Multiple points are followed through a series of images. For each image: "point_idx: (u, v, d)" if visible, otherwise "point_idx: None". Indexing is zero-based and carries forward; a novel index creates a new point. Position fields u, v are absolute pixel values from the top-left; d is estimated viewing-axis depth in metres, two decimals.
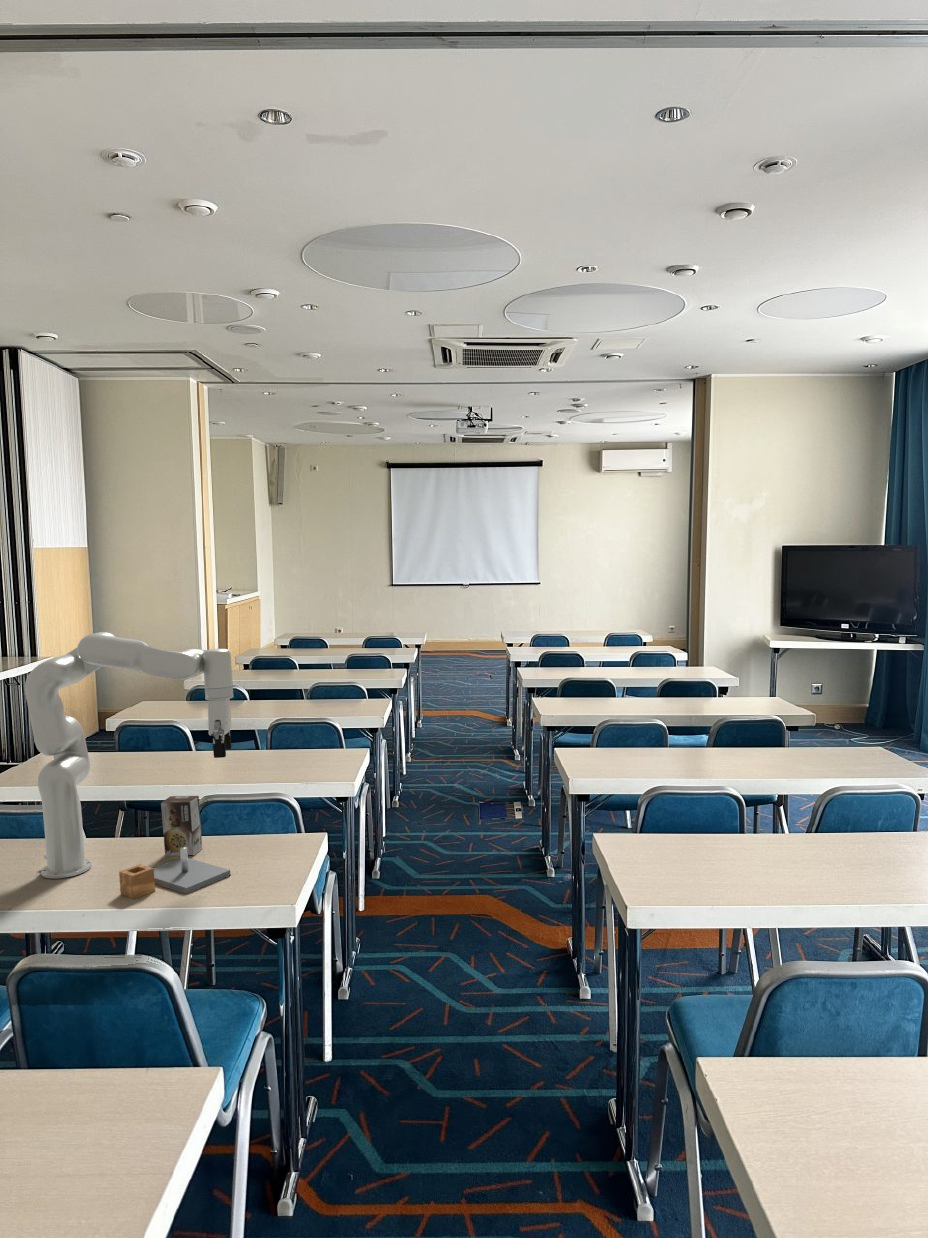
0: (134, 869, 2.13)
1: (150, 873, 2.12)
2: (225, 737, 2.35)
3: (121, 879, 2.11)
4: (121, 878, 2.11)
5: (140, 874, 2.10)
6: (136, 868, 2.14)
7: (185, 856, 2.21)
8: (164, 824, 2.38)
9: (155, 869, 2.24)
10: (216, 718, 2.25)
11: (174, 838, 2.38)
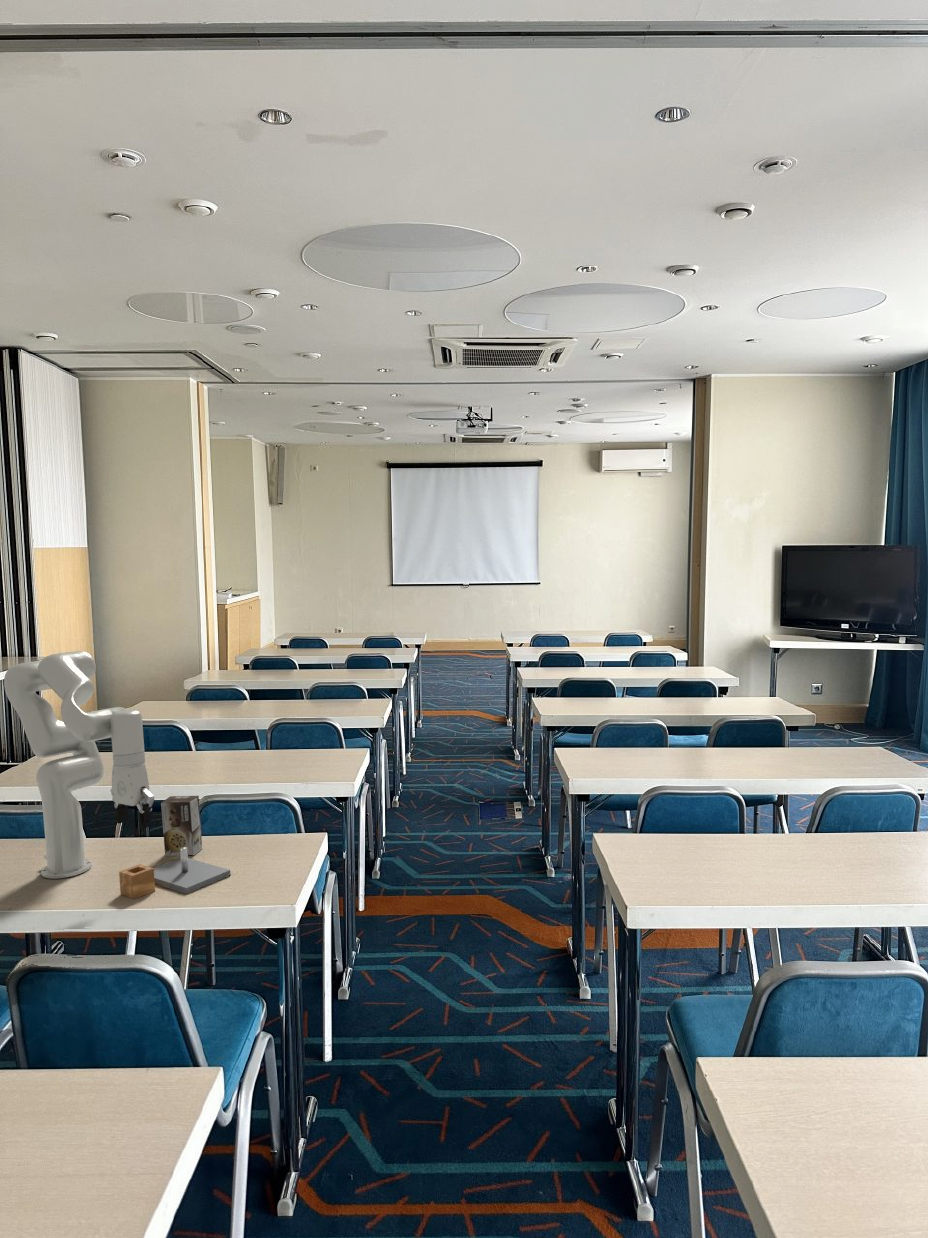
0: (134, 869, 2.13)
1: (150, 873, 2.12)
2: (124, 808, 2.13)
3: (121, 879, 2.11)
4: (121, 878, 2.11)
5: (140, 874, 2.10)
6: (136, 868, 2.14)
7: (185, 856, 2.21)
8: (164, 824, 2.38)
9: (155, 869, 2.24)
10: (142, 785, 2.07)
11: (174, 838, 2.38)
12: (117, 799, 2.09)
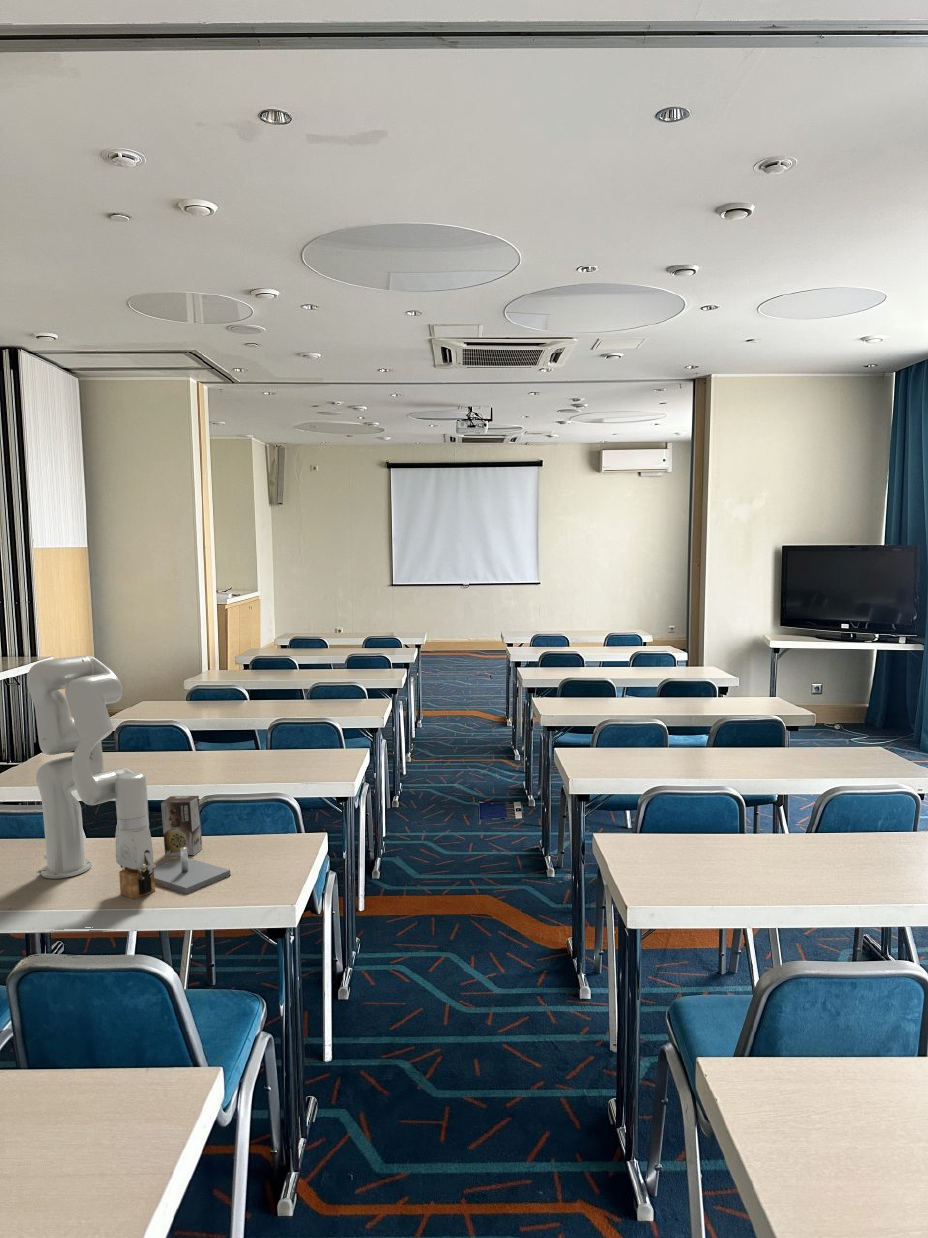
0: None
1: None
2: None
3: (121, 879, 2.11)
4: (121, 878, 2.11)
5: None
6: None
7: (185, 856, 2.21)
8: (164, 824, 2.38)
9: (155, 869, 2.24)
10: (145, 849, 2.09)
11: (174, 838, 2.38)
12: (121, 861, 2.11)
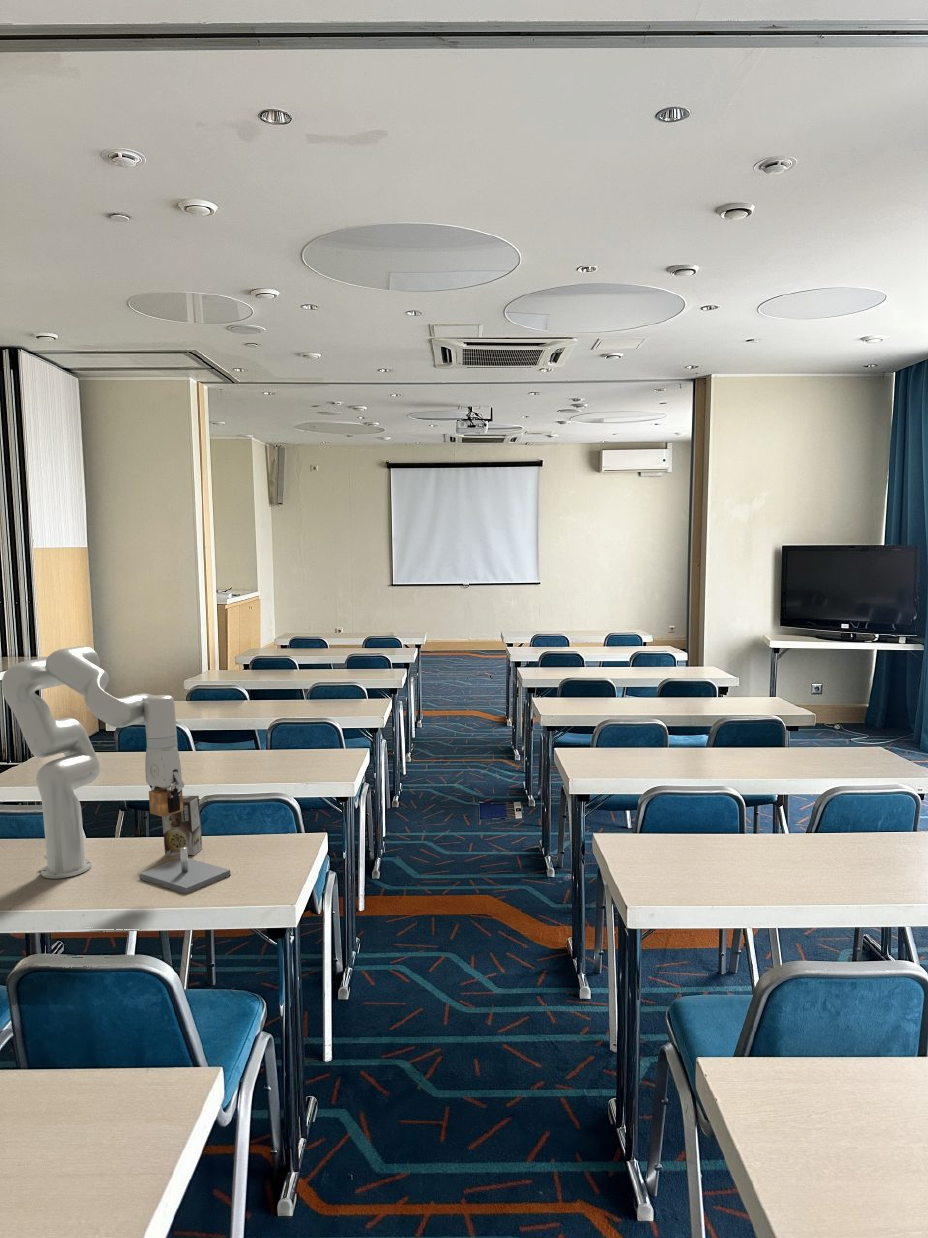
0: (163, 789, 2.18)
1: None
2: None
3: (150, 798, 2.16)
4: (151, 797, 2.16)
5: None
6: (165, 789, 2.19)
7: (185, 856, 2.21)
8: (164, 824, 2.38)
9: (155, 869, 2.24)
10: (174, 768, 2.13)
11: (174, 838, 2.38)
12: (151, 781, 2.16)
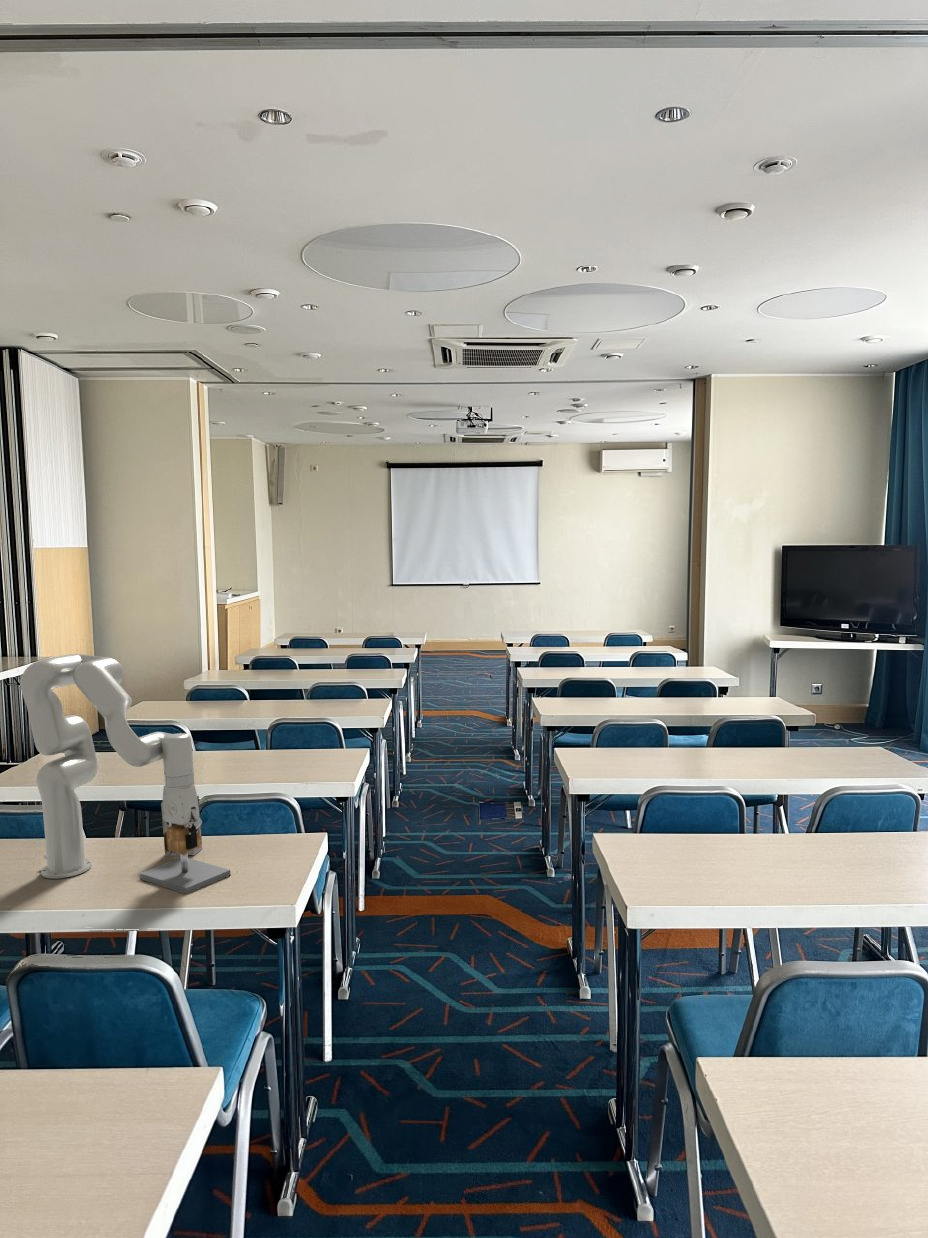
0: (180, 826, 2.22)
1: None
2: None
3: (168, 835, 2.20)
4: (168, 834, 2.20)
5: None
6: None
7: (185, 856, 2.21)
8: (164, 824, 2.38)
9: (155, 869, 2.24)
10: (192, 806, 2.17)
11: None
12: (168, 818, 2.19)
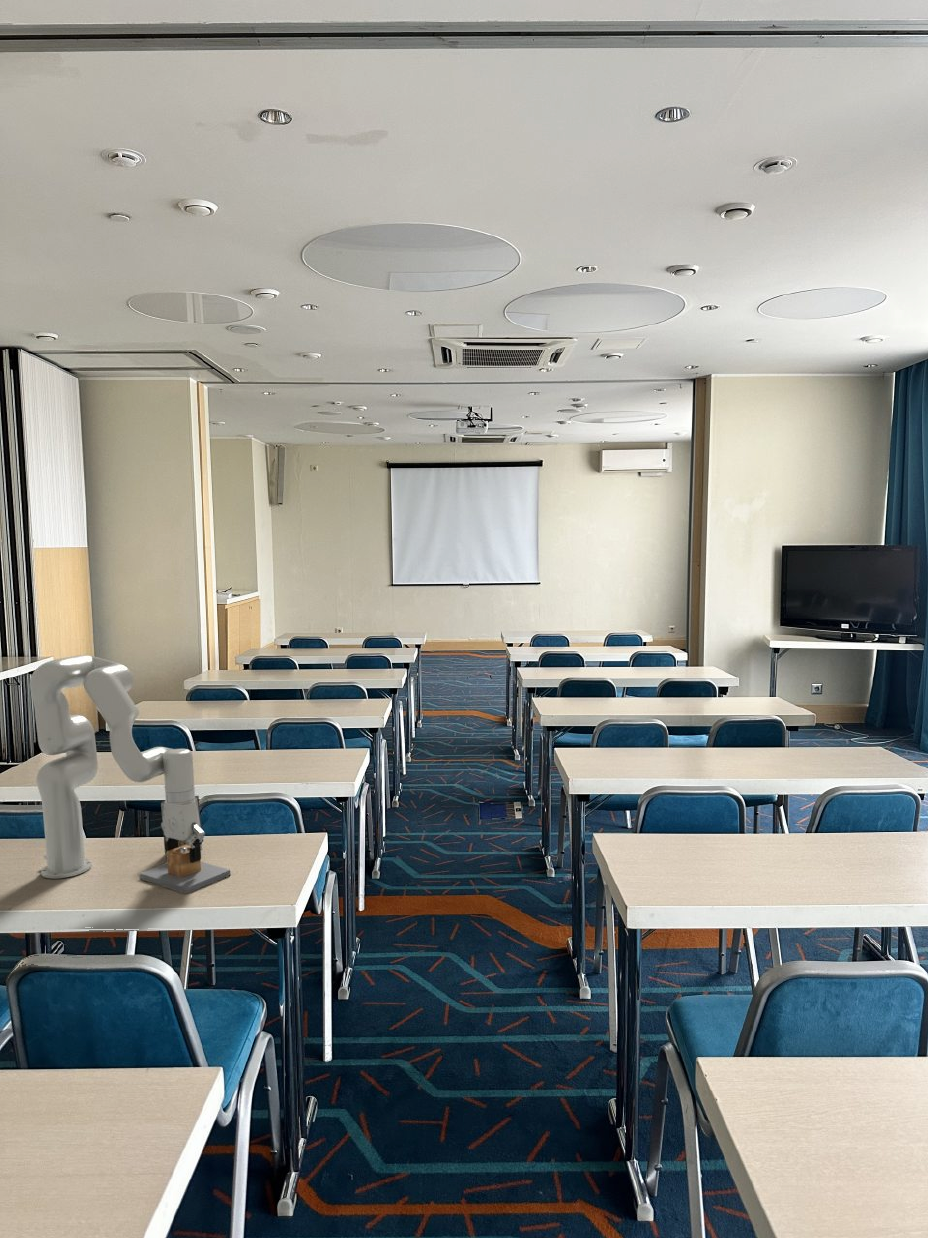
0: None
1: None
2: (174, 842, 2.24)
3: (169, 858, 2.20)
4: (169, 857, 2.20)
5: (187, 853, 2.19)
6: None
7: None
8: None
9: (155, 869, 2.24)
10: (192, 821, 2.18)
11: None
12: (169, 833, 2.20)
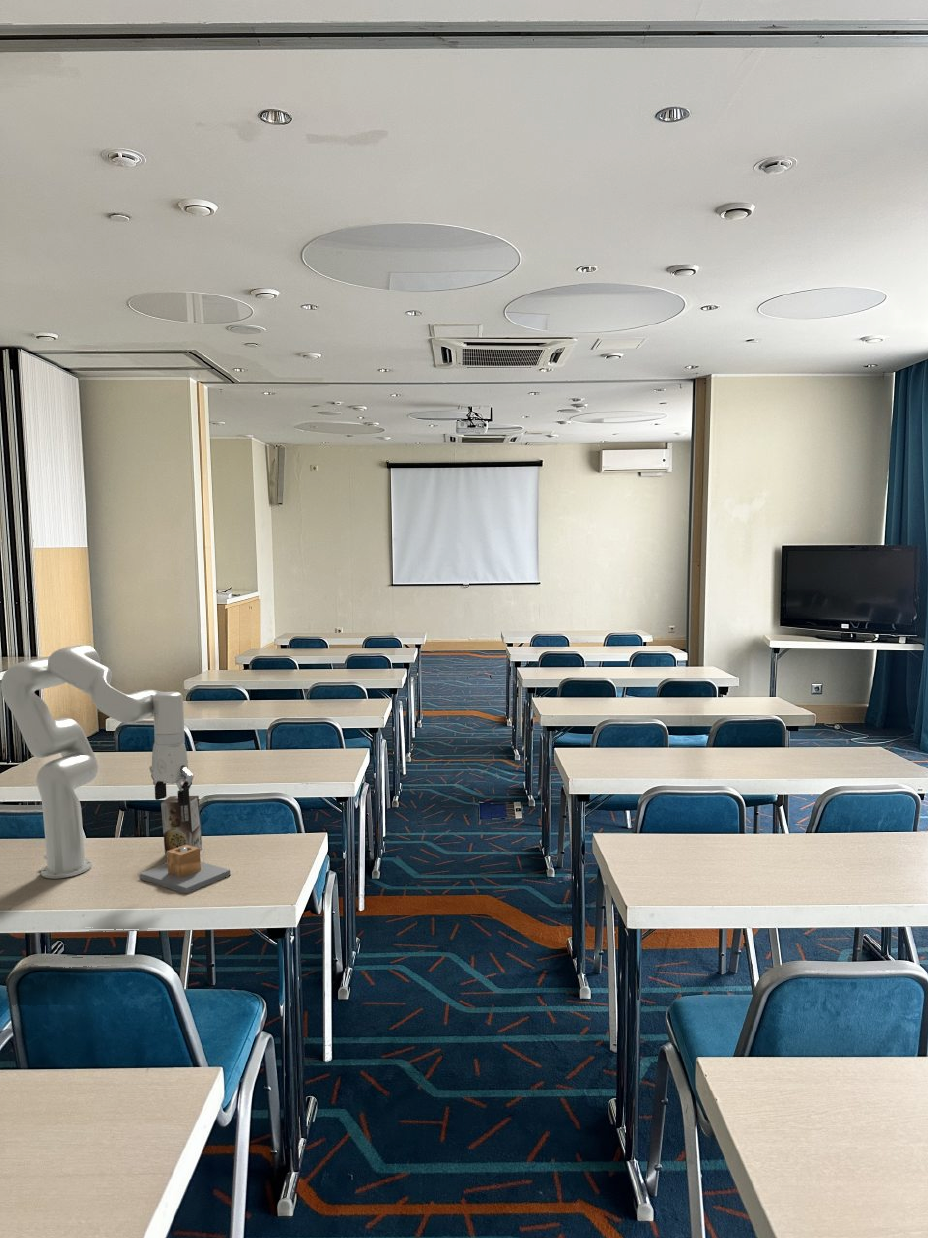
0: None
1: (196, 853, 2.21)
2: (162, 785, 2.23)
3: (169, 858, 2.20)
4: (169, 857, 2.20)
5: (187, 853, 2.19)
6: None
7: None
8: (164, 824, 2.38)
9: (155, 869, 2.24)
10: (181, 764, 2.16)
11: (174, 838, 2.38)
12: (157, 776, 2.18)
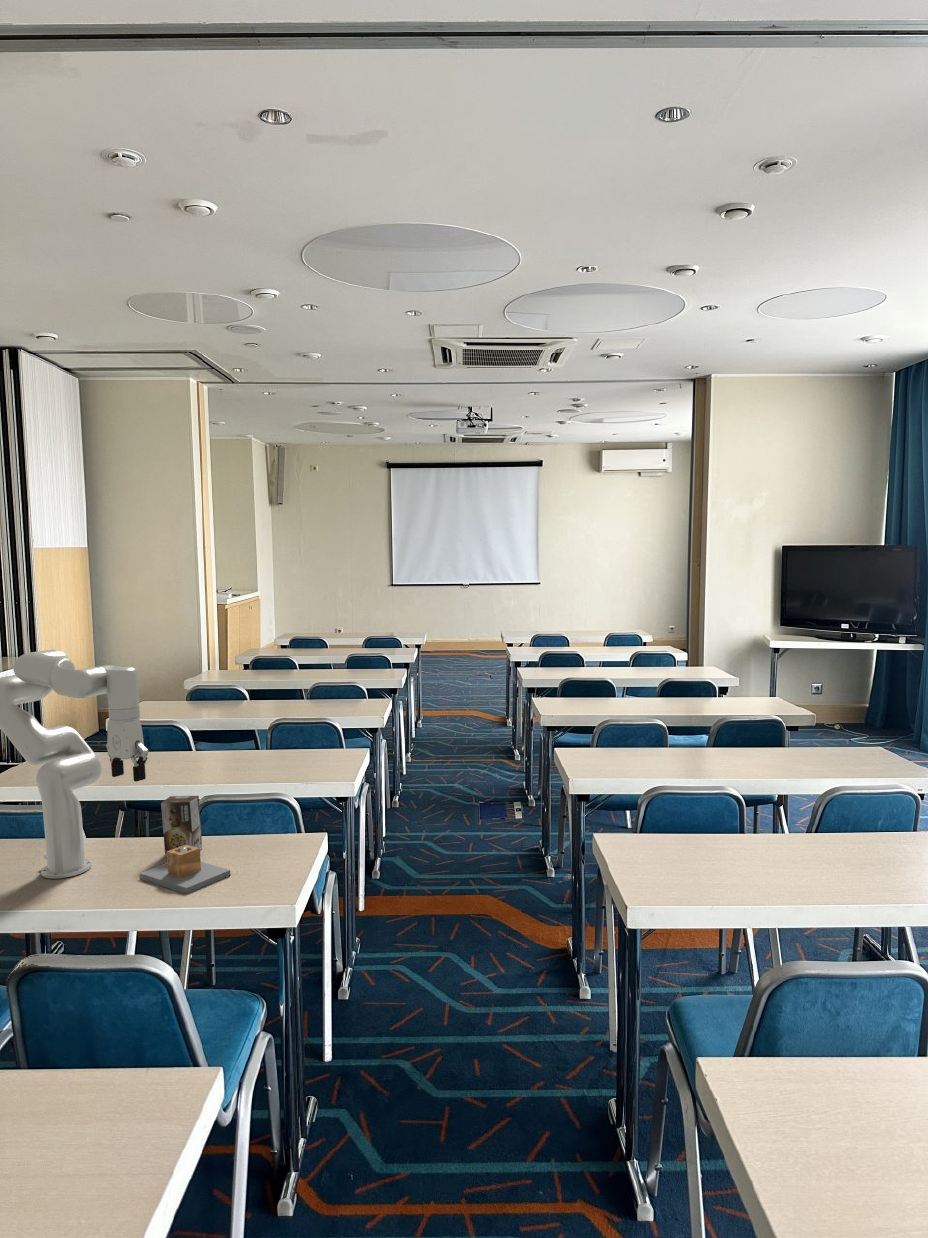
0: None
1: (196, 853, 2.21)
2: (119, 762, 2.20)
3: (169, 858, 2.20)
4: (169, 857, 2.20)
5: (187, 853, 2.19)
6: None
7: None
8: (164, 824, 2.38)
9: (155, 869, 2.24)
10: (136, 739, 2.14)
11: (174, 838, 2.38)
12: (113, 752, 2.16)
